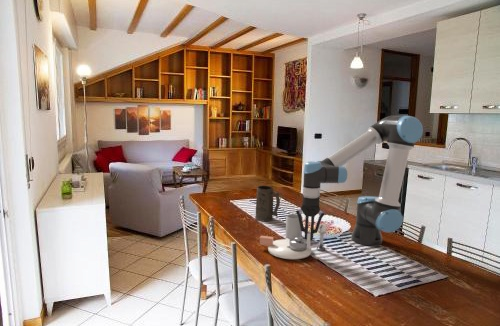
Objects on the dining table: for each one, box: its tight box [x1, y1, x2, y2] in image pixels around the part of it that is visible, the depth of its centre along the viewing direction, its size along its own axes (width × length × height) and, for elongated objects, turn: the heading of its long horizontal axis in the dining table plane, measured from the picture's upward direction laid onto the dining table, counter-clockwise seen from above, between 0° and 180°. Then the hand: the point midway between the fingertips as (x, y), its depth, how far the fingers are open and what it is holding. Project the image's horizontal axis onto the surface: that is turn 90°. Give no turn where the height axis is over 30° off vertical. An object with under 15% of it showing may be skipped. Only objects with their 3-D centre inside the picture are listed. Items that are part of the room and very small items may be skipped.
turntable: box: [259, 235, 312, 260], centre depth 162 cm, size 24×20×5 cm
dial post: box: [316, 223, 328, 252], centre depth 166 cm, size 4×4×13 cm
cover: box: [289, 236, 307, 252], centre depth 161 cm, size 8×8×5 cm
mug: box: [284, 213, 304, 239], centre depth 184 cm, size 12×8×11 cm
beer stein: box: [255, 185, 281, 222], centre depth 210 cm, size 15×11×20 cm
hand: (308, 246), depth 160 cm, fingers closed
